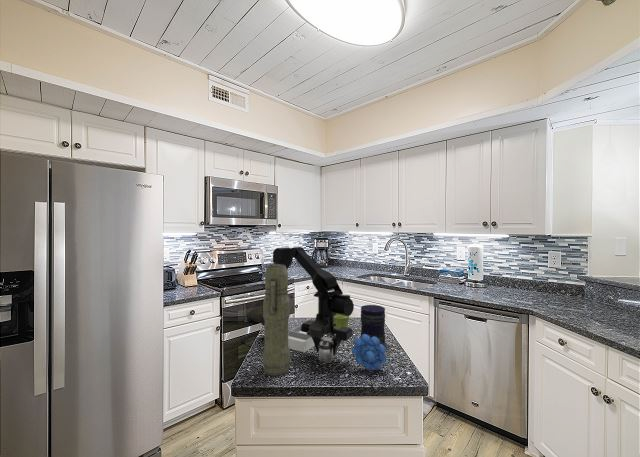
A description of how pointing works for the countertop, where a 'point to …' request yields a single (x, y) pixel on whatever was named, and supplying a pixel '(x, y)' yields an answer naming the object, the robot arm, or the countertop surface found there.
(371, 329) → the storage jar
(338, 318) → the plant pot
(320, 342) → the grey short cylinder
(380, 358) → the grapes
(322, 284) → the robot arm
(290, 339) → the grey open box
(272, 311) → the thermos
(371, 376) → the countertop surface
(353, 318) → the countertop surface
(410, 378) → the countertop surface
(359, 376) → the countertop surface
